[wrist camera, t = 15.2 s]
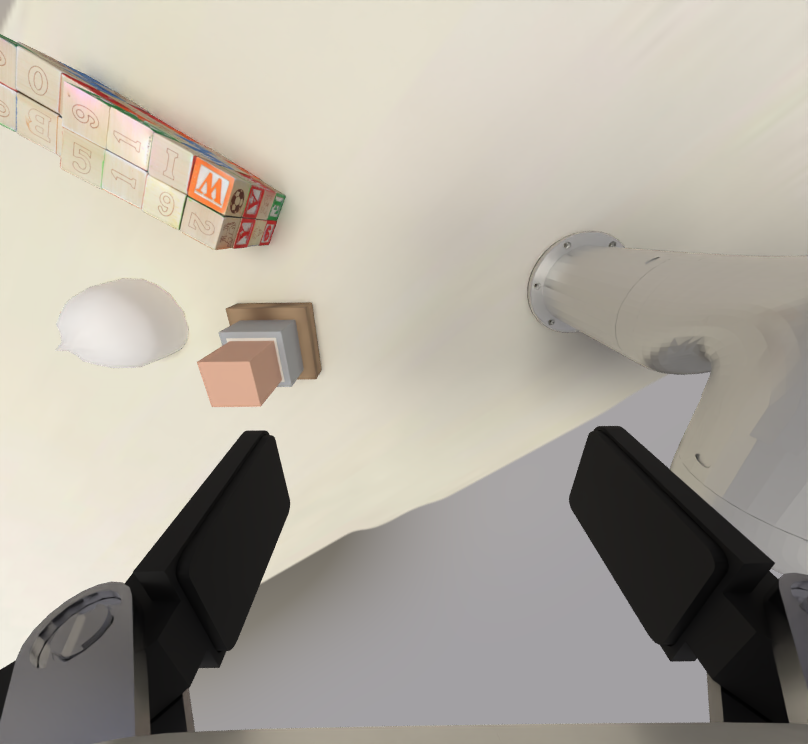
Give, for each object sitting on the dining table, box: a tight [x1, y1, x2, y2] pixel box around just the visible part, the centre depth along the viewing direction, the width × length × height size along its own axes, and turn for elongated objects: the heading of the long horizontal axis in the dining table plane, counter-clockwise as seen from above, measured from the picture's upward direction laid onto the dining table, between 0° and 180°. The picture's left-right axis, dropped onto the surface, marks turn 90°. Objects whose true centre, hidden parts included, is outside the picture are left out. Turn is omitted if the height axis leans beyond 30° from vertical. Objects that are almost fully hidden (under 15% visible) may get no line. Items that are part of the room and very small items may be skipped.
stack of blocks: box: [0, 34, 285, 250], centre depth 28 cm, size 21×6×12 cm, turn 60°
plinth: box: [226, 303, 321, 379], centre depth 41 cm, size 10×10×3 cm
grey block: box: [219, 320, 304, 387], centre depth 37 cm, size 7×7×5 cm
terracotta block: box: [197, 341, 282, 407], centre depth 32 cm, size 5×5×6 cm
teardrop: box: [55, 278, 189, 368], centre depth 36 cm, size 11×11×12 cm
